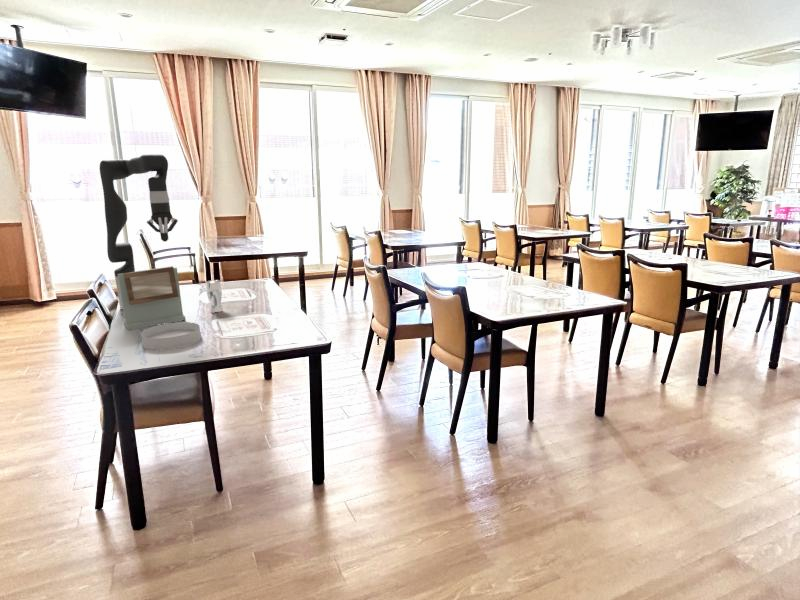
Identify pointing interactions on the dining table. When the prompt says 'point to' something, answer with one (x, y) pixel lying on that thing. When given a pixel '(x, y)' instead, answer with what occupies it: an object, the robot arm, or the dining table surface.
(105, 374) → the dining table surface
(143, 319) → the board
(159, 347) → the dish
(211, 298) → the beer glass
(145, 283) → the frame
